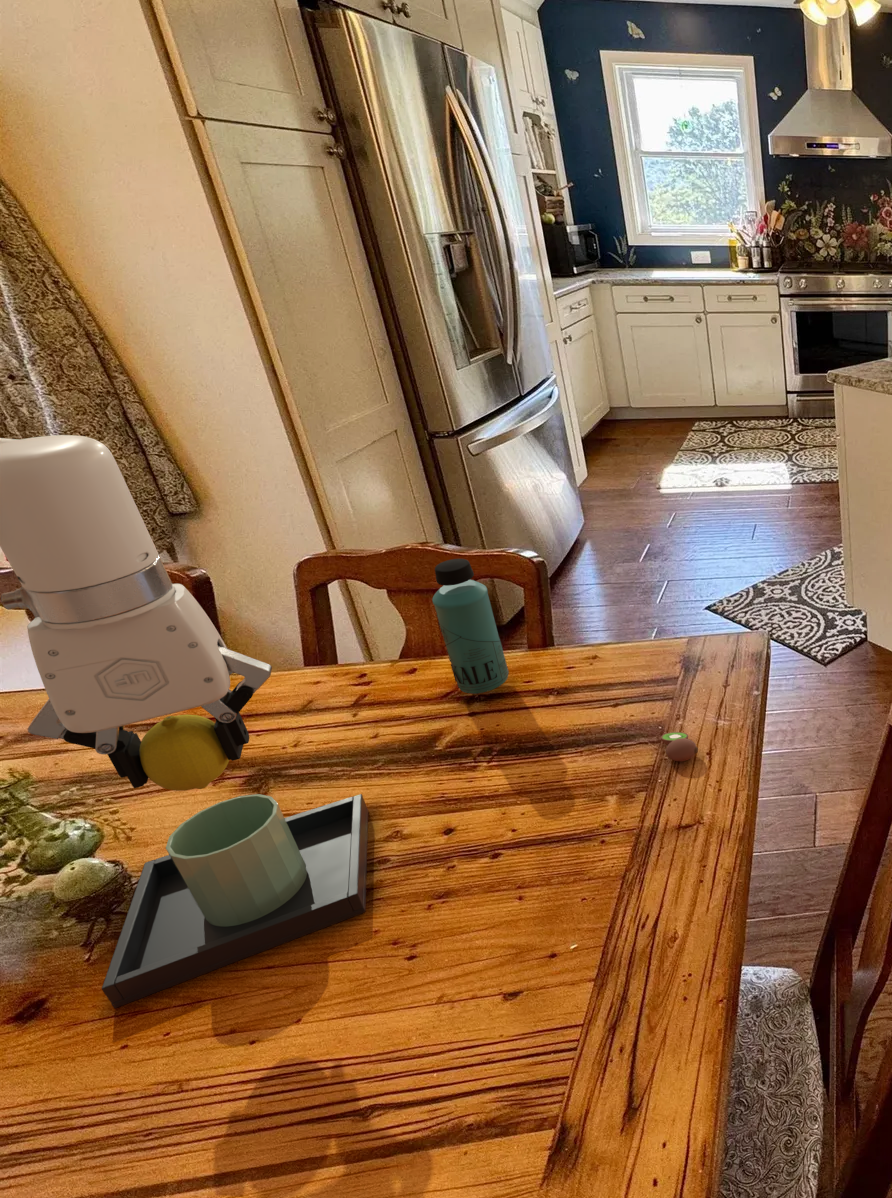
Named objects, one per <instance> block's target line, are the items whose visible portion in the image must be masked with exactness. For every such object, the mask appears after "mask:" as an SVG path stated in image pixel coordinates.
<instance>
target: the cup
mask: <svg viewBox="0 0 892 1198" xmlns="http://www.w3.org/2000/svg"><path fill="white" fill-rule="evenodd" d="M285 818H286V817H285V816H284V814H283V812H282V809H281V807H280V805H279V803H278V802H277V800H276V799H275V798H273V796H270V795H265V794H261V793H254V794H245V795H238V796H236V797H232V798H228V799H225V800H222V801H219V802H216V803H215V804H213V805H211V806H208V807H206V808H204V809H202V810H200V811H197V813H195V814H193V815H192V816H191V817H189V818H188V819H186V820H184V821H183V822H182V823H180V824H179V826H178V827H177V828H176V829H175V830H173V832H172V833H171V834H170V835H169V837H168V839H167V843H166V845H165V851H166V852H167V854H168V855H170V857H171V859H172V861H173V863H174V864H175V866H176V868H177V870H178V872H179V873H180V875H181V877H182V879H183V881H184V882H185V884H186V886H187V888H188V890H189V891H190V893H191V895H192V897H193V899H194V900H195V902H196V904H197V906H198V908H199V909H200V911H201V913H202V914H203V916H204V917H205V919H206V921H207V922H208V923H210V924H212V925H215V926H221V927H227V926H235V925H240V924H244V923H247V922H250V921H253V920H256V919H258V918H260V917H263V916H265V915H267V914H269V913H270V912H272V911H274V910H276V909H277V908H279V907H280V906H282V905H283V904H284V903H286V902H287V901H288V900H289V899H291V898H292V897H293V896H294V895H295V894H296V893H297V892H298V891H299V889H300V888H301V887H302V885H303V884H304V882H305V879H306V876H307V869H306V864H305V862H304V860H303V858H302V855H301V853H300V851H299V849H298V847H297V844H296V842H295V840H294V838H293V836H292V834H291V831H290V829H289V827H288V825H287V823H286V820H285Z"/></svg>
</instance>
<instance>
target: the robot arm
mask: <svg viewBox="0 0 892 1198" xmlns="http://www.w3.org/2000/svg"><path fill="white" fill-rule="evenodd" d="M0 549H1V551H2V552H3V555H4V556H5V559H7V561H8V563H9V565H10V567H11V569H12V571H13V572H14V574H15V576H16V578H17V579H18V581H19V584H20V585H21V587H20V588H16V589H15V590H14V591H9V592H4V593H1V595H0V601H1V604H2V606H3V607H4V608H5V610H14V609H28V610H29V611H30V612H31V613H32V614H33V616H34V619H32V620H31V621H30V622H29V623H28V625H27V626H26V627H27V628H26V629H27V634H28V635H27V636H28V640H29V641H28V642H29V645H30V648H31V652H32V656H33V659H34V662H35V665H36V668H37V671H38V673H39V676H40V679H41V682H42V684H43V687H44V690H45V692H46V695H47V697H48V699H47V701H46V702H45V703H44V705H43V706H42V708H41V709H40V710H39V711H38V713H37V714H36V715H35V717H33V719H32V721H31V722H30V724H29V726H28V727H27V732H28V733H29V734H31V735H35V736H40V737H45V738H51V739H57V740H58V739H61V740H64V742H66V743H68V744H73V745H78V746H81V747H86V748H91V749H95V752H96V753H97V754H99V755H107V757H108V758H109V760H110V762H111V764H112V765H113V767H114V769H115V771H116V773H117V774H118V776H119V777H120V778H122V779H123V778H127V779H128V781H129V782H130V784H131V786H132V788H133V789H139V788H142V787H144V786H145V785H146V784H147V783H148V781H149V778H148V776H147V775H146V773H145V772H144V770H143V767H142V764H141V761H140V755H139V749H140V744H141V741H142V739H141V738H140V737H139V734H138V733H137V732H134V731H133V730H129V731H128V730H126V726H128V725H132V724H136V723H140V722H145V721H148V720H153V719H156V718H161V717H165V716H170V715H172V714H176V713H181V712H184V711H188V710H193V709H197V708H200V707H201V708H202V709H203V710H204V711H206V712H207V713H208V714H210V715H211V716H212V717H214V719H215V722H214V723H215V725H214V731H215V733H216V735H217V737H218V739H219V741H220V743H221V746H222V748H223V750H224V752H225V754H226V756H227V758H228V760H229V761H231V762H234V761H238V760H240V759H241V756H242V753H243V750H244V749H243V748H244V745H247V744H249V742H250V734H249V730H248V729H247V726H246V724H245V722H244V720H243V718H242V715H241V713H240V712H241V711H242V709H244V708H245V706H246V705H247V704H248V702H249V701H250V700H251V699H252V697H253V695H254V694H255V693H256V691H258V690H259V689H260V688H261V687H262V686H263V685H264V683H266V682H267V680H268V679H269V678H270V677H271V676H272V670H273V666H272V665H271V664H270V663H267V662H264V661H262V660H259V659H257V658H253V657H251V656H248V655H245V654H242V653H240V652H236V651H233V650H231V649H229V648H228V647H227V645H226V644H225V642H224V640H223V638H222V637H221V635H220V633H219V631H218V630H217V628H216V627H215V625H214V624H213V622H212V620H211V618H210V617H209V616H208V614H207V613H206V611H205V610H204V609H203V607H202V606H201V604H200V603H199V602H198V601H197V599H196V598H195V597H194V596H193V594H192V593H191V592H190V591H189V590H188V588H186V586H184V585H183V584H182V583H173V581H172V580H171V578H170V576H169V573H168V571H167V569H166V567H165V565H164V563H163V561H162V558H161V556H160V554H159V551H158V549H157V547H156V545H155V543H154V540H153V539H152V536H151V534H150V532H149V530H148V528H147V526H146V524H145V521H144V520H143V517H142V514H141V513H140V511H139V509H138V506H137V504H136V502H135V500H134V498H133V495H132V494H131V491H130V488H129V487H128V485H127V482H126V480H125V478H124V476H123V473H122V471H121V469H120V467H119V465H118V463H117V461H116V459H115V457H114V455H113V454H112V452H111V451H110V449H109V448H108V447H107V446H106V445H105V444H104V443H102V442H101V441H99V440H97V439H94V438H91V437H89V436H85V435H75V434H73V435H71V434H58V435H57V434H55V435H45V436H33V437H28V438H26V437H25V438H21V439H15V438H4V437H0ZM233 673H234V674H236V675H240V676H242V677H244V678H243V679H242V680H241V681H239V683H237V684H236V686H234V688H233V689H232V690H231V689H230V688H231V678H230V675H231V674H233Z"/></svg>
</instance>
